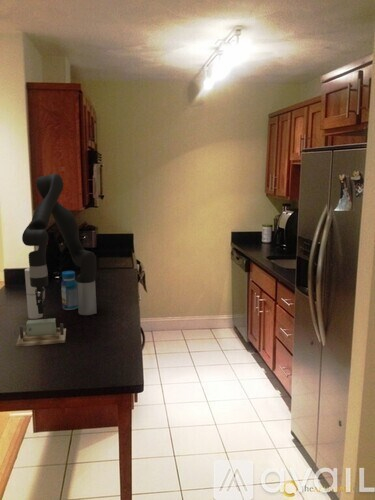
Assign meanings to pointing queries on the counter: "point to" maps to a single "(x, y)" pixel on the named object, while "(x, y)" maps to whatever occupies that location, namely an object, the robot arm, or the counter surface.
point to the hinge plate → (40, 342)
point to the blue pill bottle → (69, 291)
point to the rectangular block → (41, 327)
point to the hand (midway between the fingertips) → (41, 310)
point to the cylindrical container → (31, 298)
